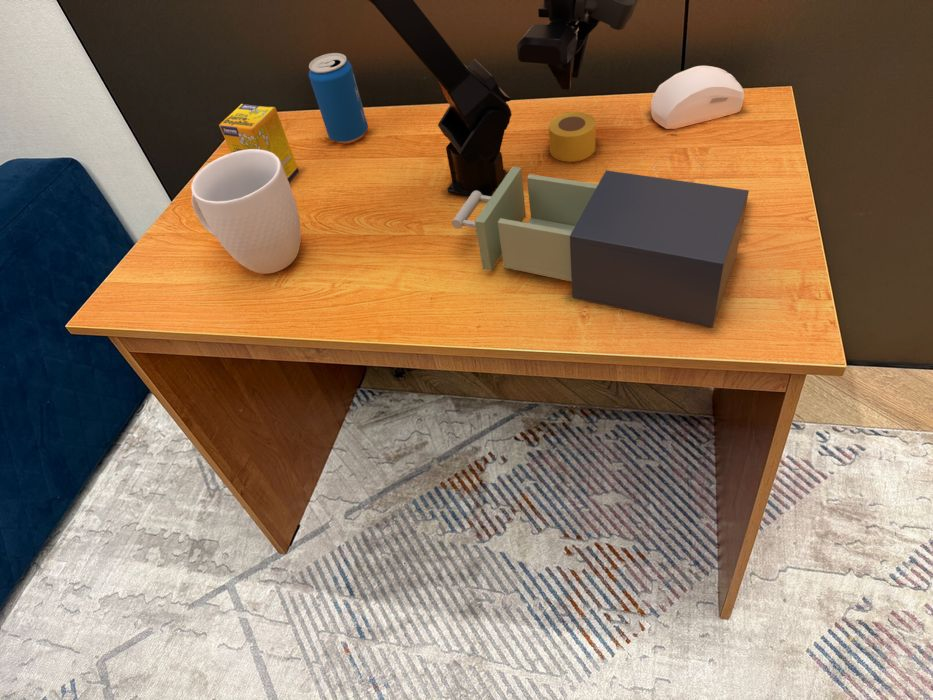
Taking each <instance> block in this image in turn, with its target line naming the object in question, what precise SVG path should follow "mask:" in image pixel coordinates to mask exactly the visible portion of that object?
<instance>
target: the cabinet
mask: <svg viewBox="0 0 933 700" xmlns="http://www.w3.org/2000/svg"><path fill="white" fill-rule="evenodd" d="M597 184H598V186H597V188H596V189H595V191H594V193H593V195H592V197H591V198H590V200H589V202H588V204H587V206H586V207H585V209H584V211H583V213H582V215H581V216H580V218H579V220H578V222H577V224H576V226H575V227H574V229H573V231H572V233H571V235H570V255H571V279H572V282H571V295H572V299H577V300H582V301H586V302H591V303H595V304H598V305H599V304H600V305H605V306H609V307H614V308H618V309H623V310H626V311H627V310H628V311H632V312H636V313H642V314H645V315H651V316H655V317H660V318H665V319H669V320H674V321H677V322H683V323H687V324H691V325H697V326H700V327H706V328H711V329H713V328H714V325H715V322H716V320H717V317H718V313H719V310H720V307H721V304H722V301H723V299H724V296H725V295H724V294H725V292H726V289H727V287H728V282H729V280H730V277H731V275H732V274H731V273H732V271H733V268H734V265H735V262H736V259H737V255H738V251H739V245H740V241H741V234H742V230H743V225H744V224H743V223H744V218H745V214H746V208H747V204H748V198H749V192H750V190H749V189H741V188H735V187H727V186H722V185H713V184H707V183H699V182H692V181H685V180H679V179H672V178H662V177H657V176H649V175H642V174H636V173H628V172H621V171H614V170H605V171H604V173H603V175H602V176H601V178H600V181H599V183H597Z"/></svg>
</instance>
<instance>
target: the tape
mask: <svg viewBox="0 0 933 700" xmlns="http://www.w3.org/2000/svg"><path fill="white" fill-rule="evenodd" d="M548 139H549V140H548V141H549V152H550V153H549V154H550V155H551V157H553V158H554V159H556V160H558V161H561V162H567V163H572V162H580V161H584V160H586V159H588V158H589V157H591V156H592V155H593V154H594V153H595V151H596V120H595V118H594V117H593V116H592V115H591V114H589V113H587V112H582V111H567V112H563V113H560V114H557V115H556V116H555V117H553V118H552V119H550V121H549V122H548Z"/></svg>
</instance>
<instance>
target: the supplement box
mask: <svg viewBox="0 0 933 700" xmlns="http://www.w3.org/2000/svg"><path fill="white" fill-rule="evenodd" d="M281 121H282V120H281V118H280V116H279V113H278V110H277V108H276V107H275V106H262V105H253V104H246V103H241V104H240V105H238V107H237V108H235V110H233V111H232V112H231V113H230V114H229V115H228V116H227V117H226V118H224V120H223V121H221V122H220V123H219V124H218V126H219V129H220V131H221V134H222V135H223V138H224V140H225V142H226V145H227V147H228V149H229V151H230V153H233V152H237V151H241V150H249V149H259V150H266V151H269V152H271V153H273V154H275V155H276V156H277V157H278V158H279V160H280V162H281V164H282V167H283V170H284V172H285V174H286V177H287V180H288V181H289V183H291V181H292V180H293V179H294V178H295V177H296V176H297V174H299V172H300V171H299V167H298V165H297V162H296V159H295V157H294V154H293V151H292V148H291V145H290V144H289V140H288V138H287V137H288V136H287V135H286V132H285V130H284V126H283V124H282V122H281Z"/></svg>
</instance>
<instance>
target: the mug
mask: <svg viewBox="0 0 933 700" xmlns="http://www.w3.org/2000/svg"><path fill="white" fill-rule="evenodd" d="M190 187H191V188H190V189H191V193H192V194H191V197H190V198H191V205H192V209H193V212H194V214H195V216H196V218H197V220H199V222H200V224H201V225H202V227H203V228H204V229H205V230H206V231H207V232H208V233H210V234H211V235H212V236H214V237H215V238H216V239H217V241H218V242H219V244H220V245H221V247H222V248H223V249H224V250H225V252H227V253H228V254H229V255H230V256H231V257H232V258H233V259H234V261H236V262H237V263H239V264H240V265H241V266H242V267H244V268H246V269H247V270H249V271H251V272H254V273H256V274H261V275H269V274H274V273H277V272H280V271H283V270H284V269H287V268H288V267H290V265H291V264H293V263H294V261H295V260H296V258H297V256H298V255H299V251H300V246H301V241H302V228H301V227H302V226H301V225H302V223H301V219H300V218H301V217H300V214H299V208H298V205H297V202H296V197H295V195H294V192H293V190H292V188H291V184H290V182H289V181H288V180H287V177H286V174H285V172H284V170H283V167H282V164H281V162H280V160H279V158H278V157H277V156H276V155H275V154H273V153H271V152H269V151H266V150H259V149H249V150H241V151H237V152H233V153H231V152H230V153H228V154H225V155H222V156H220V157H218V158H216V159H214V160H212V161H211V162H209V163H207V164H206V165H205V166H203V167H202V168H201V169H200V170H199V171H198V172H197V173H196V175H195V176H194V177H193V179H192V181H191V186H190Z"/></svg>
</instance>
